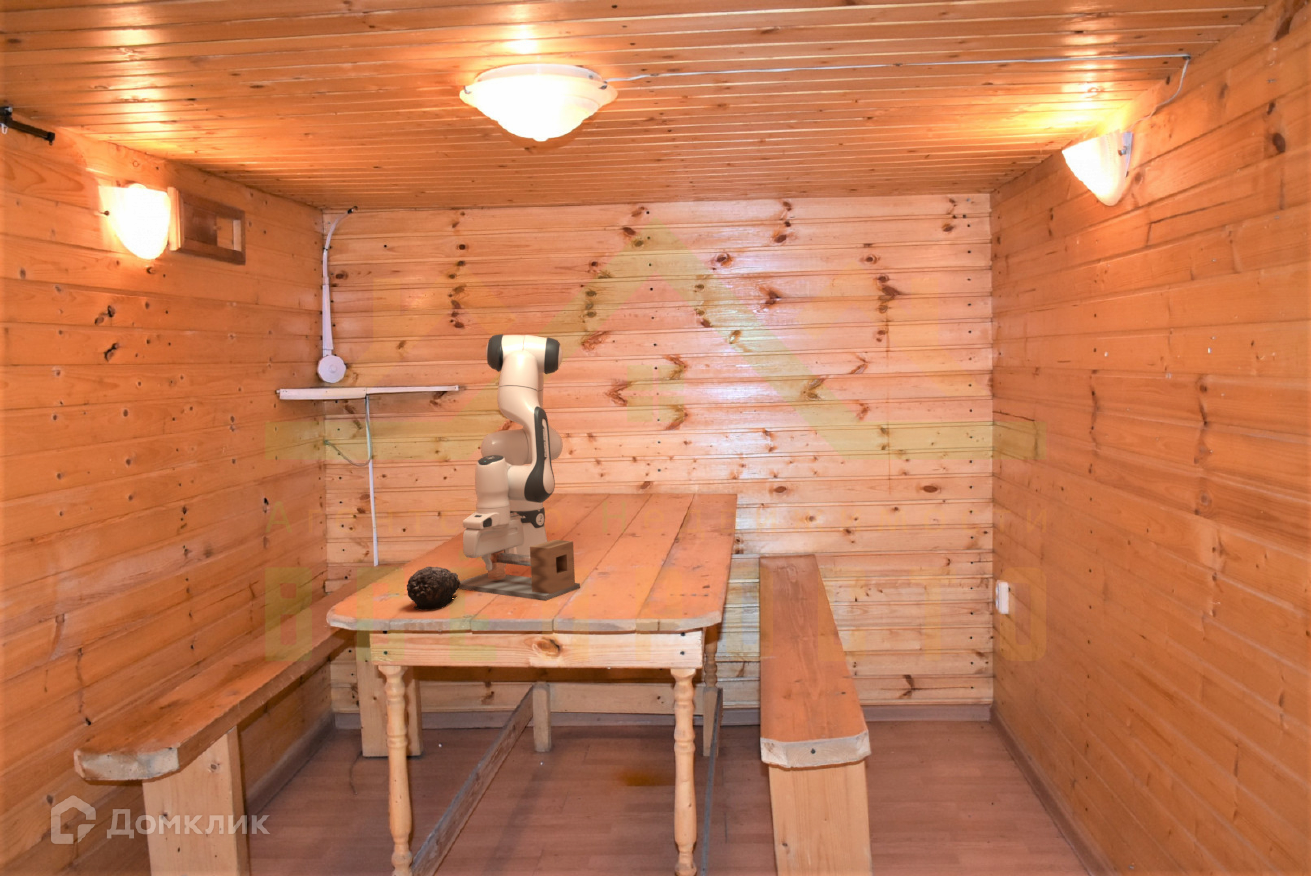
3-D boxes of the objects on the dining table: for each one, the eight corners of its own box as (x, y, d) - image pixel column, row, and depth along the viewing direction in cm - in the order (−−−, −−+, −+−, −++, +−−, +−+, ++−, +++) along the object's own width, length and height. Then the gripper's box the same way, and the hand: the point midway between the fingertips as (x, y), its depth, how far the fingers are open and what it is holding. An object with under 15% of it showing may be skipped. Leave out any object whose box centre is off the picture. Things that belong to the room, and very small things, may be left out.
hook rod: (488, 578, 248) (486, 552, 248) (496, 576, 251) (495, 549, 250) (549, 586, 237) (548, 558, 236) (557, 583, 239) (556, 556, 239)
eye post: (452, 587, 248) (450, 540, 247) (489, 576, 260) (486, 531, 259) (545, 600, 231) (543, 550, 230) (580, 587, 242) (577, 539, 241)
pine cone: (466, 594, 241) (463, 556, 240) (443, 612, 223) (441, 571, 223) (427, 594, 242) (424, 556, 241) (401, 613, 224) (399, 572, 224)
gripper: (510, 510, 258) (513, 559, 259) (457, 522, 241) (460, 574, 242) (528, 511, 254) (530, 561, 256) (475, 523, 237) (478, 577, 238)
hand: (496, 568), depth 249 cm, fingers closed on hook rod, 3 cm apart
